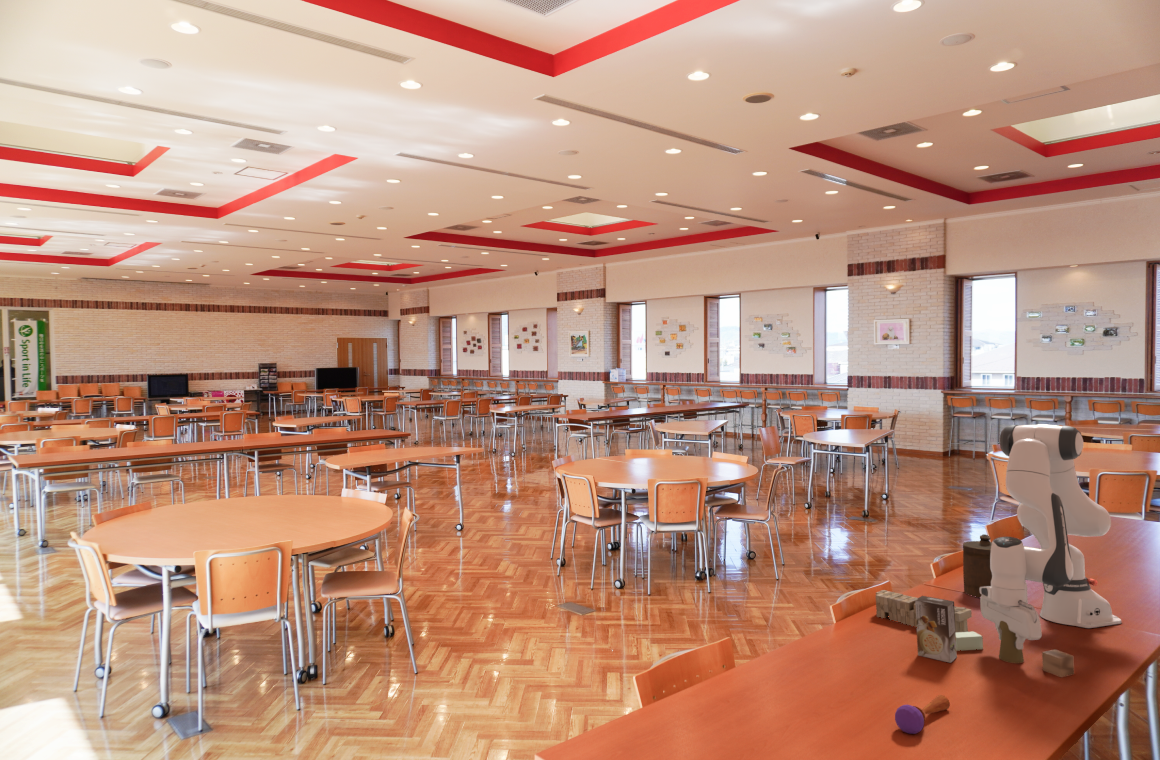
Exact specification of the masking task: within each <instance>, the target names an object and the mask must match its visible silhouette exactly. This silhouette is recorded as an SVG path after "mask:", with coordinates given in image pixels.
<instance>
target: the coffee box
mask: <svg viewBox="0 0 1160 760" xmlns="http://www.w3.org/2000/svg"><path fill="white" fill-rule="evenodd" d="M917 598H918V599H917V600H916V601H915V604H916V626H917V628H916V643H917V655H918V656H919V657H923V658H928V659H932V660H936V661H941V662H945V663H946V662H947V663H949V664H950V663H951V664H952V662H954V661H955V659H956V658H957V657H958V655H957V650H956V632H955V610H954V606H955V601H954V600H947V599H945V598H944V599H943V598H939V597H934V596H933V597H932V596H926V595H921V596H919V597H917Z"/></svg>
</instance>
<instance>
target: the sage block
mask: <svg viewBox="0 0 1160 760" xmlns="http://www.w3.org/2000/svg"><path fill="white" fill-rule="evenodd" d="M983 639H984V638H983V635H981V634H980V633H978V632H976V631H973V630H972V631H968V632H956V652H958V651H959V652H960V650H961V651H976V649H977V650H984V643H983V642H984V641H983Z"/></svg>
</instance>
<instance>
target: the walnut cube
mask: <svg viewBox="0 0 1160 760" xmlns="http://www.w3.org/2000/svg"><path fill="white" fill-rule="evenodd" d="M1041 653H1042V654H1041V655H1042V657H1041V658H1042V659H1041V660H1042V662H1041V663H1042V671H1043V672H1046V673H1048V674H1051V675H1054V676H1057V677H1059V678H1064V677H1068V676H1073V675H1075V663H1074V660H1075V659H1074V655H1072V654H1069V653H1067V652H1063V651H1061V650H1058V649H1051V650H1046V651H1041Z"/></svg>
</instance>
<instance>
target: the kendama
mask: <svg viewBox="0 0 1160 760" xmlns="http://www.w3.org/2000/svg"><path fill="white" fill-rule="evenodd" d="M950 705H951V704H950V700H949V699H948V698H947V696H945V695H944V694H943V695H942V694H939V695H937V696H935V698H933V699H932V700H931V701H930V702H929V703H928V704H926V705H925V707H923V708H920V707H918V706H916V705H911V704H902V705H901V706H899V707H898V708H897V709H896V711H895V712H894V720H895V723H896V725H897V727H898V728H899V729H900V730H901V731H902V732H904V733H907V734H910V735H916V734H918V733H920V732H921V731H922V730H923V728H924V725H925V722H926V715H928V714H934V713H937V712H942V711H945V710H949V708H950V707H951V706H950Z"/></svg>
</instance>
